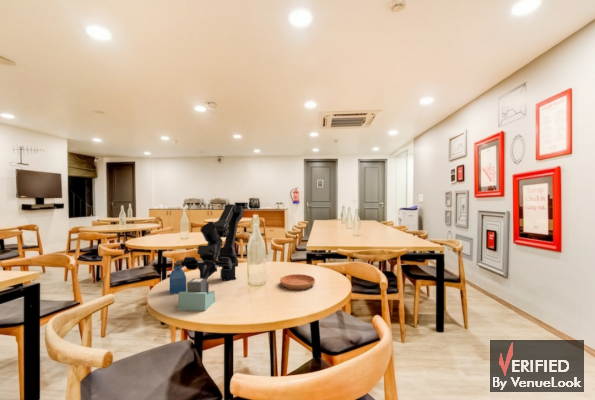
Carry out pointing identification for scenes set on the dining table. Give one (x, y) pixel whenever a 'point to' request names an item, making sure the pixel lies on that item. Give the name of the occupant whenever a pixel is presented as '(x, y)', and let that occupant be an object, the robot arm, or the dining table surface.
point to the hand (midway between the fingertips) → (201, 282)
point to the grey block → (198, 285)
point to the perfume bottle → (177, 279)
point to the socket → (195, 300)
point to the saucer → (297, 281)
